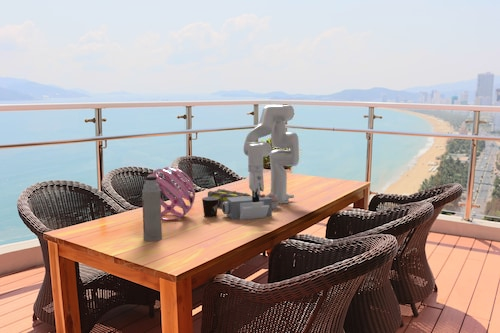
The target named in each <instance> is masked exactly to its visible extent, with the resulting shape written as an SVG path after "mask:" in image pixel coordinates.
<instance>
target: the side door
mask: <svg viewBox="0 0 500 333" xmlns="http://www.w3.org/2000/svg"><path fill="white" fill-rule="evenodd" d="M268 209H269V205H262V202H252V205H251V206H248V207H242V211H241V214H240V218H239V219H238V220H240V221H241V220H251V219H264V218H267V216H266V215H267V212H268Z"/></svg>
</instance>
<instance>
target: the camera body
mask: <svg viewBox="0 0 500 333" xmlns="http://www.w3.org/2000/svg"><path fill="white" fill-rule="evenodd" d="M266 195H267V194H264V193H260V195H259V202H262V205H269V209H268V212H267V215H266V217H272V215H273V214H272V213H273V212H272V211H273V209H272V199H271V198H270V197H268V196H266ZM251 205H252V195H251V196H244V197H229V198H226V202H223V204H222V208H221V211H222V213H223V215H226V216H227V217H228V218H230V219H231V220H240V219H239V218H240V214H241V211H242V207H248V206H251Z"/></svg>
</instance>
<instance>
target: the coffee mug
mask: <svg viewBox="0 0 500 333" xmlns="http://www.w3.org/2000/svg"><path fill="white" fill-rule="evenodd" d="M201 199H202V207H203V208H202V209H203V215H204V218H205V219H206V218H215V217H217V216H218V209H219V205H220V203H221V201H220V199H219V198H217V197H208V196H205V197H202V198H201ZM218 200H219V201H220V202H219V205H218Z"/></svg>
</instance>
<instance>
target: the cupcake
mask: <svg viewBox="0 0 500 333" xmlns="http://www.w3.org/2000/svg"><path fill="white" fill-rule="evenodd" d="M265 195H266V196H268V197H270V198H271V199H272V210H275V209H276V210H277V208H278V205H279V204H278V203H279V200H277V196H276V195H274V194H273V193H272V192H271V191H270V193H268V194H265Z"/></svg>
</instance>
